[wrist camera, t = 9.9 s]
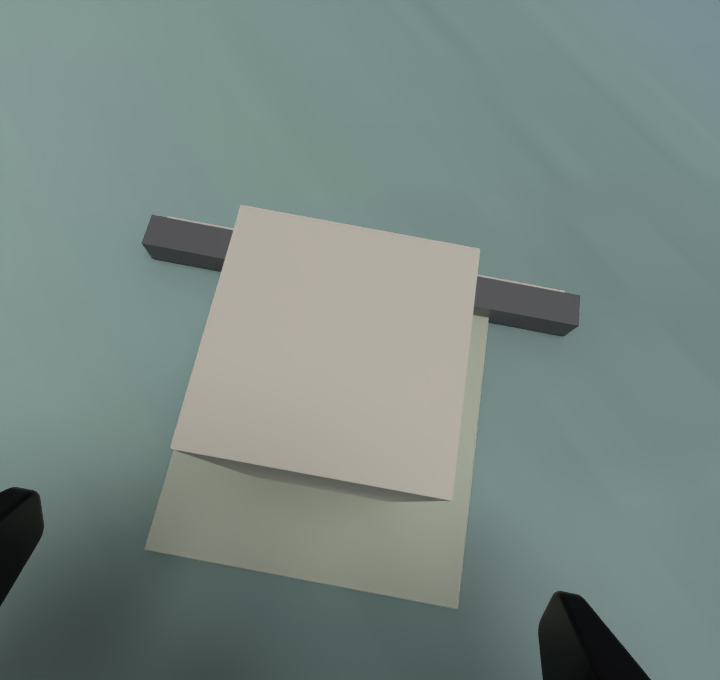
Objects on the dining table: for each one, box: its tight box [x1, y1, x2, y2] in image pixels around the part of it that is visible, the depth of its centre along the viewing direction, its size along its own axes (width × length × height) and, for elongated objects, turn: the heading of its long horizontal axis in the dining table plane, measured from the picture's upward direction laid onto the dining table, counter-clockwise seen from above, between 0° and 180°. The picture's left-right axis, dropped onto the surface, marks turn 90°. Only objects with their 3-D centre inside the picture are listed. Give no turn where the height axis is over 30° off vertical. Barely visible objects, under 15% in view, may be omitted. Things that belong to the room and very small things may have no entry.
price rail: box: [142, 215, 580, 336], centre depth 19 cm, size 16×1×1 cm, turn 80°
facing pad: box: [144, 315, 489, 609], centre depth 17 cm, size 10×10×1 cm
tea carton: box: [170, 205, 480, 502], centre depth 13 cm, size 5×5×9 cm
